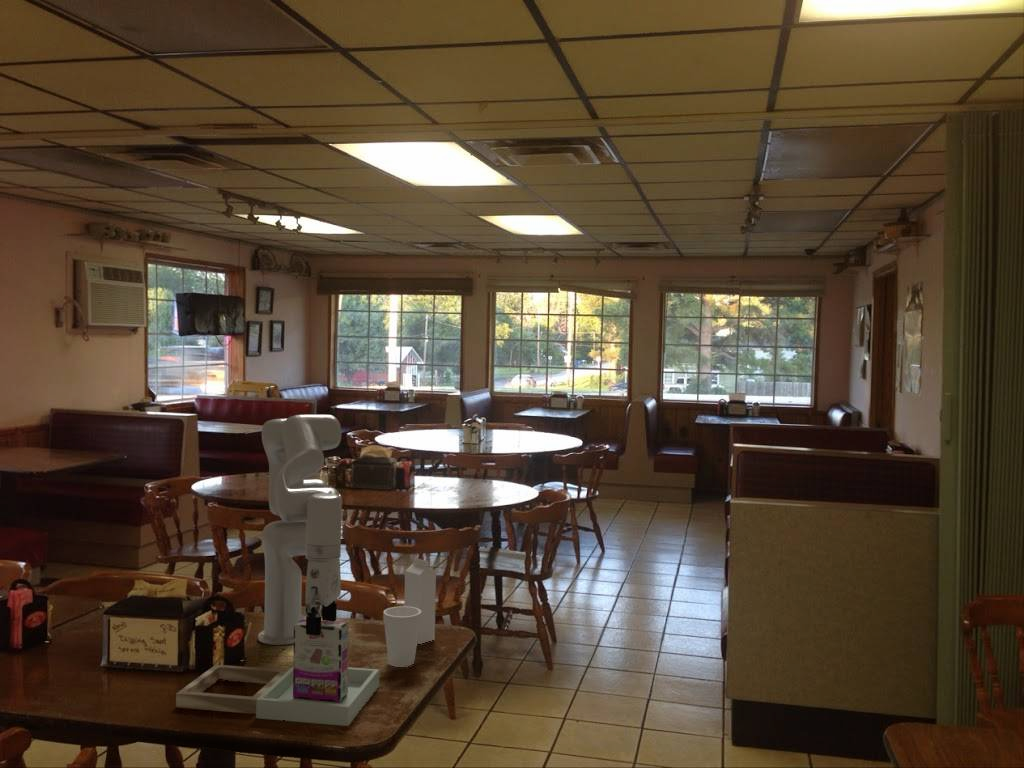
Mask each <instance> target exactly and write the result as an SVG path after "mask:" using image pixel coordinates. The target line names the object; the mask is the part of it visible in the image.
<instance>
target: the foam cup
mask: <svg viewBox="0 0 1024 768" xmlns="http://www.w3.org/2000/svg"><path fill="white" fill-rule="evenodd" d="M382 614H383V616H382V617H383V618H382V619H383V625H384V633H385V644H386V652H387V662H388V665H389V664H390V665H392V666H395V667H406V666H407V667H406V668H409V667H408V666H410V665H412V664H414V665H415V659H416V652H417V646H418V645H417V641H418V634H419V627H420V623H421V610H420V609H418V608H414V607H407V606H404V605H401V606H393V607H392V606H391V607H388V608H386V609H384V610H383V613H382ZM390 665H389V666H390ZM392 666H391V667H392ZM412 666H413V665H412ZM395 667H394V668H395ZM410 667H411V666H410Z"/></svg>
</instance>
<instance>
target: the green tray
mask: <svg viewBox="0 0 1024 768" xmlns="http://www.w3.org/2000/svg"><path fill="white" fill-rule="evenodd" d="M288 670H289V671H287V672H286V673H285V674H284V675H283V676H282V677H281V678H280V679H279V680H277V681H276V682H275V683H274V684H273V685H272V686H271V687H270V688H269V689H267V690H266V691H265V692H264V693H263V694H262V695H261V696H260V697H258V698H257V699H256V714H255V718H256V719H262V720H273V721H274V720H275V721H283V720H285V721H286V722H295V723H309V724H319V725H321V724H322V725H332V726H343V727H349V726H350V725H351V724H352V723H353V721H354V719H356V717H357V715H358V714H359V713H360V712H361V710H362V709H363V708H364V707H363V706H365V705H366V704H367V703H368V702H369V700H370V699H371V698H372V696H373V695H374V694H375V693H376V692H377V690H378V689H379V687H380V669H377V668H376V669H375V668H365V667H364V668H363V667H362V668H361V667H351V666H350V667H349V666H348V694H347V696H346V697H345V698H344V699H343V700H342V701H341V702H330V701H319V700H308V699H298V698H293V666H292V667H291V668H290V669H288ZM377 688H378V689H377ZM374 692H375V693H374ZM373 693H374V694H373ZM370 697H371V698H370ZM366 702H367V703H366ZM362 707H363V708H362ZM359 711H360V712H359ZM285 721H284V722H285Z"/></svg>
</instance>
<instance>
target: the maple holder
mask: <svg viewBox="0 0 1024 768" xmlns="http://www.w3.org/2000/svg"><path fill="white" fill-rule="evenodd" d="M289 670H290V669H280V668H279V669H275V668H268V667H267V668H265V667H251V666H250V667H249V666H237V665H227V664H226V665H225V664H214V665H213V666H212V667H210V668H209V669H208V670H206V671H205V672H203V673H202V674H201V675H200V676H198V677H197V678H195V679H194V680H193V681H192V682H190V683H188V684H187V685H186V686H184V687H183V688H182V689H181V690H179V691H177V692H176V693H175V707H176V708H181V709H193V710H205V711H216V712H228V713H229V712H231V713H238V714H239V713H241V714H251V715H256V699H257V698H258V697H260V696H261V695H262V694H263V693H264V692H265V691H266V690H267V689H269V688H270V687H271V686H272V685H273V684H274V683H275V682H276V681H277V680H279V679H280V678H281V677H282V676H283V675H284V674H285V673H286V672H287V671H289ZM218 679H223V680H222V681H225V680H228V681H227V682H238V681H240V682H242V683H250V682H251V683H252V684H254V683H255V684H263V685H264V684H265V685H264V686H262V687H261V689H259V690H258V691H257V692H255V694H254V695H252V696H249V695H248V696H246V695H234V694H226V693H225V694H223V693H222V694H221V693H211V692H205V691H206V690H208V689H209V688H211V686H213V685H214V684H215V683H216V681H217V680H218ZM218 681H219V680H218ZM218 681H217V682H218ZM212 684H213V685H212ZM207 688H208V689H207Z"/></svg>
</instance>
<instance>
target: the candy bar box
mask: <svg viewBox="0 0 1024 768" xmlns="http://www.w3.org/2000/svg"><path fill="white" fill-rule="evenodd" d="M292 667H293V698H298V699H308V700H319V701H330V702H341V701H342V700H343V699H344V698H345V697H346V696H347V694H348V667H349V622H347V621H346V622H345V621H337V620H335V621H324V620H321V634H320V635H319V636H318V635H307V634H306V618H305V619H304V618H303V619H302V620H301V621H299V622H298V623H296V624H295V625H294V644H293V666H292Z"/></svg>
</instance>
